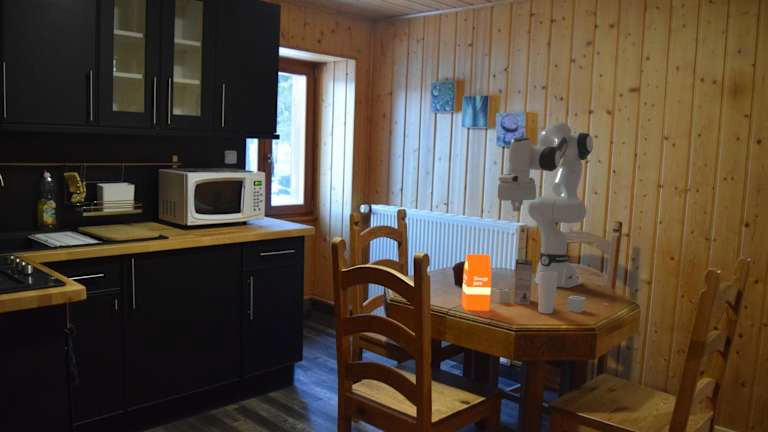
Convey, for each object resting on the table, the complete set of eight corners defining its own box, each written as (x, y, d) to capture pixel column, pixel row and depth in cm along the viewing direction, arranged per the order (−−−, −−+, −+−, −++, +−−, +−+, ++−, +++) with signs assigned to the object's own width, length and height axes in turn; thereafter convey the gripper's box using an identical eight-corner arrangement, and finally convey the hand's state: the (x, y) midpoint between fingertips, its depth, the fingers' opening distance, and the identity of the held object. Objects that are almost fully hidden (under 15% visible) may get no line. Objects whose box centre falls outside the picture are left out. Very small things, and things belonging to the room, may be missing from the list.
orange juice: (489, 310, 238) (492, 256, 236) (465, 310, 237) (468, 256, 235) (484, 305, 246) (487, 253, 243) (461, 305, 245) (464, 252, 243)
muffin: (479, 283, 287) (480, 261, 286) (477, 288, 276) (478, 265, 275) (452, 281, 290) (454, 259, 289) (449, 285, 279) (450, 262, 278)
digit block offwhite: (571, 308, 247) (572, 295, 246) (584, 310, 244) (585, 297, 244) (566, 310, 243) (567, 297, 242) (579, 313, 240) (580, 299, 240)
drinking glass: (533, 310, 241) (536, 270, 240) (551, 310, 242) (554, 270, 240) (539, 314, 235) (542, 273, 233) (557, 315, 235) (560, 274, 234)
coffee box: (513, 298, 260) (515, 258, 258) (529, 299, 259) (532, 259, 257) (513, 303, 251) (515, 262, 249) (530, 304, 250) (532, 263, 248)
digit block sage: (501, 300, 256) (501, 287, 256) (509, 303, 252) (510, 289, 251) (490, 301, 254) (491, 288, 253) (499, 304, 249) (499, 290, 249)
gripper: (528, 177, 273) (526, 209, 274) (495, 176, 260) (493, 211, 262) (540, 178, 268) (538, 211, 269) (508, 177, 255) (505, 212, 257)
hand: (516, 211), depth 265 cm, fingers closed
